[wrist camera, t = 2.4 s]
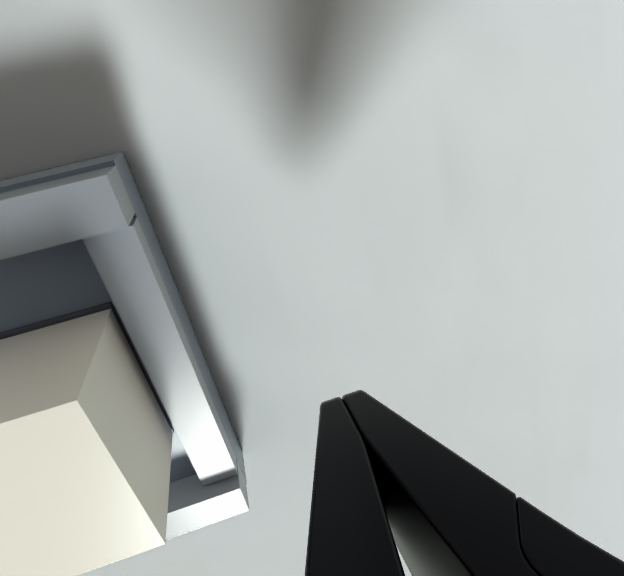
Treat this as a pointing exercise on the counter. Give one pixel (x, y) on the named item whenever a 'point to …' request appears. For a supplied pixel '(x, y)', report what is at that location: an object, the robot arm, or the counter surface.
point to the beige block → (78, 451)
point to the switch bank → (120, 314)
